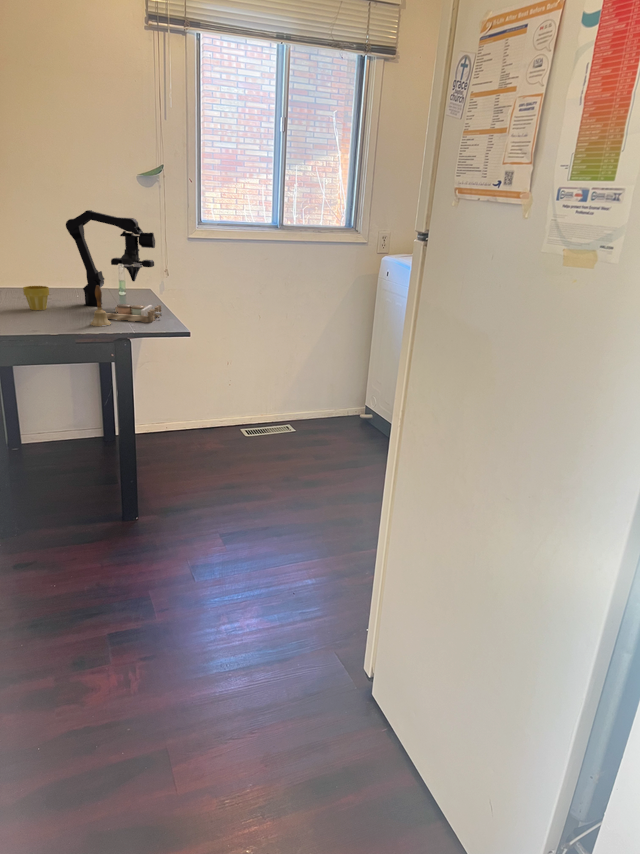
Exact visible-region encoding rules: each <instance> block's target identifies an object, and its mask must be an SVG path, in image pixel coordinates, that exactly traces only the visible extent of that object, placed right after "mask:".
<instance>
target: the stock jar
mask: <svg viewBox="0 0 640 854" xmlns="http://www.w3.org/2000/svg"><path fill="white" fill-rule="evenodd" d="M145 307H147V306H146V305H143V304H142V305H141V304H133V305H132V306H131V312H132V315H141V310H142V309H144V308H145Z"/></svg>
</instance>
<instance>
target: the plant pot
mask: <svg viewBox="0 0 640 854" xmlns="http://www.w3.org/2000/svg"><path fill="white" fill-rule="evenodd" d="M22 289H23V290H22V291H23V296H25V297H26V301H27V304H28V307H29V309H30V310H31V311H37V310H39V311H46V310H47V307H48V296H50V289H49V286H46V285H27V286H26V285H25V286H23V288H22Z"/></svg>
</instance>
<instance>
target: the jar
mask: <svg viewBox="0 0 640 854" xmlns="http://www.w3.org/2000/svg"><path fill="white" fill-rule="evenodd" d="M131 306H133V305H132V304H129V303H127V304H126V303H120V304H116V307H117V310H118V313H117V314H126V315H132V312H131Z"/></svg>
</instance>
